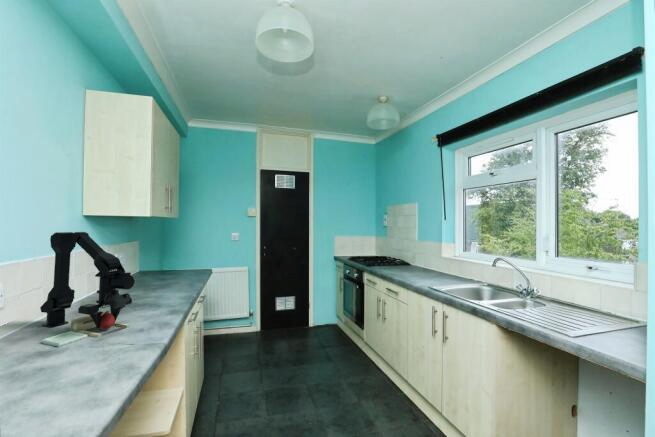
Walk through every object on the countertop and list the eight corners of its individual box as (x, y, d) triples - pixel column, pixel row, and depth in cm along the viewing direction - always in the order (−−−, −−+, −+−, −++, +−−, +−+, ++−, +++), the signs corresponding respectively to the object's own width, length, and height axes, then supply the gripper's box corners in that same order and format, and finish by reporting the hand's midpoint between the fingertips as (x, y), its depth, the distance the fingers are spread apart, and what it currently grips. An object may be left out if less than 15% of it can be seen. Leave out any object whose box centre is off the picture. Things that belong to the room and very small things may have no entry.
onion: (105, 333, 123) (106, 313, 123) (93, 332, 124) (94, 312, 124) (117, 328, 129) (118, 309, 129) (106, 327, 130) (107, 308, 130)
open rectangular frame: (70, 332, 124) (71, 319, 124) (103, 322, 136) (103, 311, 136) (97, 337, 119) (98, 324, 119) (129, 326, 132) (129, 315, 132)
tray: (41, 342, 112) (41, 339, 112) (70, 334, 121) (70, 331, 121) (59, 346, 109) (59, 343, 109) (87, 337, 118) (87, 334, 118)
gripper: (99, 294, 116) (97, 335, 115) (142, 285, 133) (140, 321, 133) (78, 291, 119) (76, 331, 119) (123, 283, 137) (121, 318, 137)
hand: (106, 325), depth 127 cm, fingers closed on onion, 6 cm apart
